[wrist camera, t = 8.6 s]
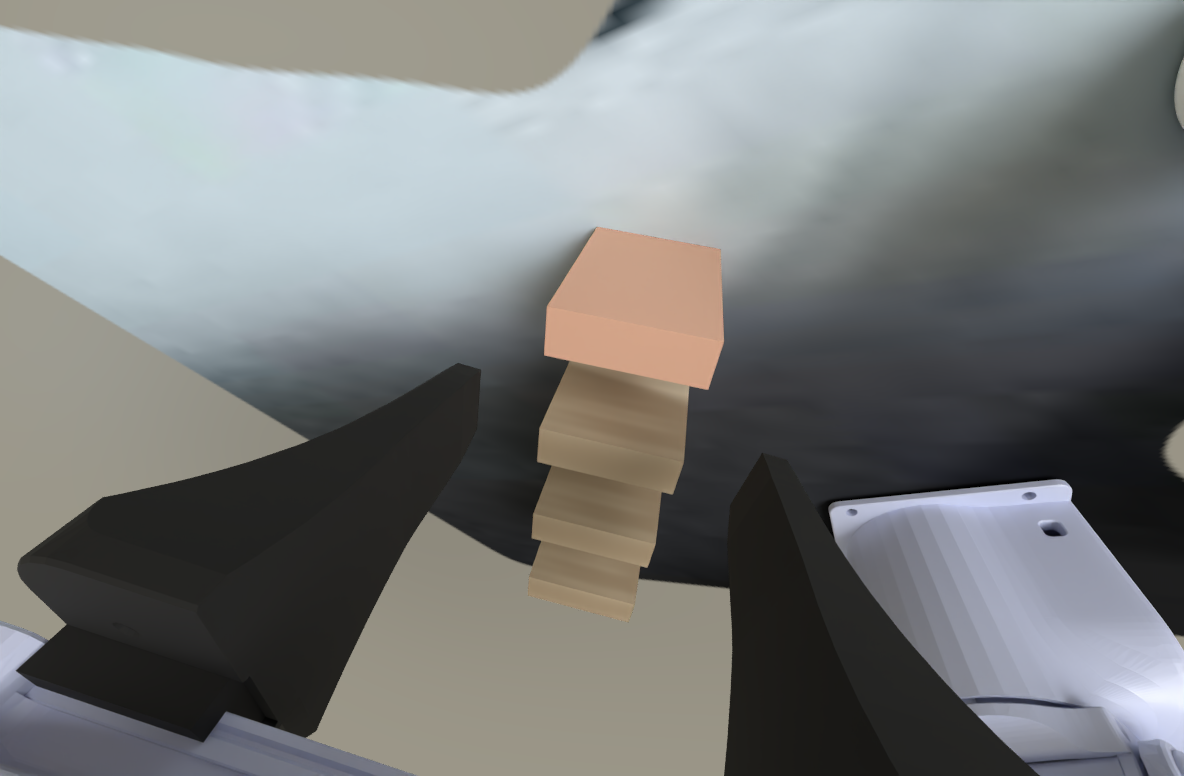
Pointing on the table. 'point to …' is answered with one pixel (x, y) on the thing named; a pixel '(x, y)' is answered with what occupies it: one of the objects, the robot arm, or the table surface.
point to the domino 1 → (616, 427)
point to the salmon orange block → (640, 308)
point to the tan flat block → (597, 516)
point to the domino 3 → (584, 581)
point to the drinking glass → (1180, 94)
